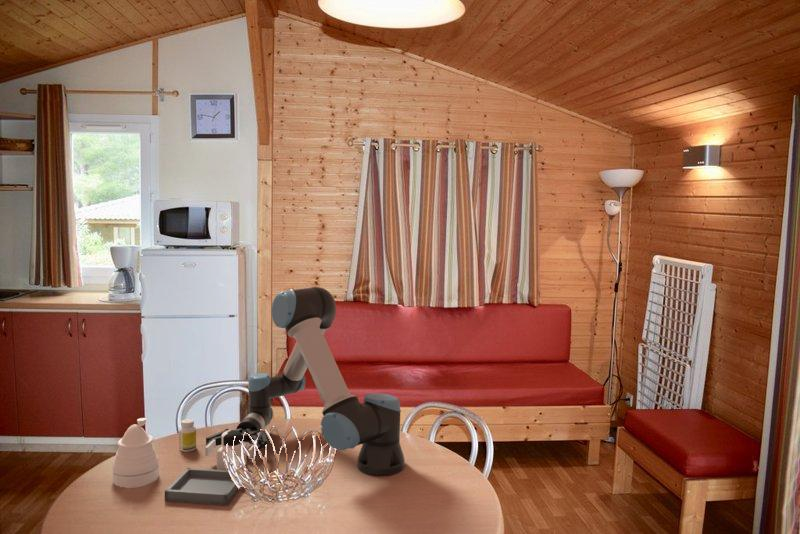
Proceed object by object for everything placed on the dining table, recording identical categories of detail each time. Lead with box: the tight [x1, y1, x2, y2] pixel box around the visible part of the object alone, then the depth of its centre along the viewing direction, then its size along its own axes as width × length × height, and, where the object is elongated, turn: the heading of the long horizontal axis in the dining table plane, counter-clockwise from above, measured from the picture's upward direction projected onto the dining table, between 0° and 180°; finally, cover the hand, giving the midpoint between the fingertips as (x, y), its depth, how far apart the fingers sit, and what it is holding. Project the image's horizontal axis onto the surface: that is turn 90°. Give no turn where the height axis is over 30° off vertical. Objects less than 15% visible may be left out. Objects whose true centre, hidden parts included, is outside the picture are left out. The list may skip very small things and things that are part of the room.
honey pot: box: [111, 417, 160, 489], centre depth 188 cm, size 13×13×18 cm
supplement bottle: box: [178, 418, 197, 453], centre depth 211 cm, size 5×5×10 cm
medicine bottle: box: [216, 429, 247, 470], centre depth 196 cm, size 7×7×12 cm
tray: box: [164, 467, 239, 506], centre depth 182 cm, size 18×15×3 cm
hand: (227, 453), depth 193 cm, fingers open, 13 cm apart
